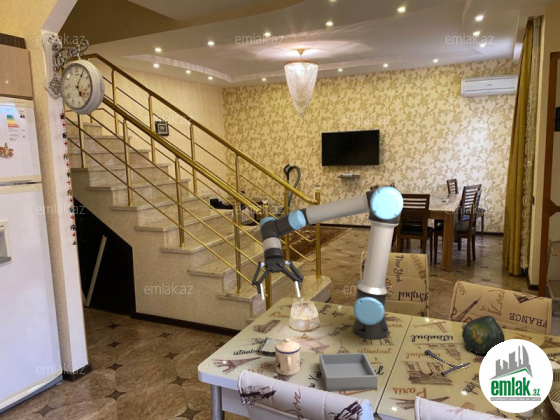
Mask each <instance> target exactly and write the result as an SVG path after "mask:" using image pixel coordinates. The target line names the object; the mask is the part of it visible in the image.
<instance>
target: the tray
mask: <svg viewBox="0 0 560 420" xmlns="http://www.w3.org/2000/svg"><path fill="white" fill-rule="evenodd" d="M318 357H319V359H318V360H319V365H318V366H319V369H320V373H321V376H322V381H323V382H324V386H325V391H326V392H344V391H345V392H346V391H347V392H348V391H351V392H352V391H364V390H363V389H377V390H378V375H377V373H376V371H375V369H374V367H373V366H372V364H371V362H370V360H369V358H368V357H367V355H366V353H365V352H351V353H350V352H348V353H345V352H344V353H320V354H319V356H318Z"/></svg>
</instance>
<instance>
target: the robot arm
mask: <svg viewBox="0 0 560 420" xmlns="http://www.w3.org/2000/svg"><path fill="white" fill-rule="evenodd" d="M403 207H404V199H403V196H402V194H401V192H400V191H399V189H397V188H396V187H395V186H392V185H388V184H387V185H382V186H380V187H377V188H374V189H371V190H367V191H365V192H364V193H363V194H361V195H357V196H353V197H352V196H351V197H347V198H343V199H339V200H334V201H330V202H326V203H321V204H317V205H312V206H309V207H306V208H305V207H304V208H297V209H294V210H292V211H291V212H289V213H287V214H284V215H283V216H280V217H279V218H275V217H273V216H268V217H267V216H266V217H263V218H262V219H261V220H260V221H259V233H260V237H261V238H260V240H261V244H262V250H263V259H264V262H262V261H261V260H258V261H257V266H256V267H257V268H256V269H255V272H254V276H252V277H253V278H252V280H251V284H250V285H251V286H252V287H253V286H254V287H256V291H257V294H258V295H260V301H261V304H264V303H265V294H264V286H263V282H264V280H265V279H266V278H267V276H268V275H269V274H270V273H271V274H276V273H277V274H279V273H281V274H283V275H285V276H286V277H288V278H289V279H290V280H291V281H293V286H294V291H295V292H294V293H295V296H296V301H299V300H300V298H301V294H300V293H301V292H300V291H301V289H302V286H301V283H303V282H304V279H305V278H304V276H303V274H302V273H301V272H300V271H299V269H298V268H297V267H296V266H295V265H294V263H293V260H292V259H288V260H286V261H285V259H284V255H283V254H284V253H283V250H282V249H283V248H282V244H281V243H282V242H281V237H284V236H285V235H288V234H290V233H293V232H296V231H299V230H300V229H302V228H304V227H305V226H309V225H313V224H318V223H323V222H328V221H329V222H330V221H333V220H337V219H344V218H347V217H352V216H356V215H362V214H366V213H367V214H368V218H367V220H368V221H369V223H370V224H371V225H370V231H369V236H368V242H367V249H366V255H365V262H364V269H363V274H362V275H363V276H362V279H361V280H358V282H357V285H356V293H355V294H356V295H355V300H354V304H353V307H352V308H353V314H354V316H355V319H354V321H353V324H352V333H353V334H355V335H356V336H357V337H359V338H362V339H366V340H381V339H384V338H386V337H388V336H387V335H389V326H388V323H387V320H386V315H385V311H386V310H385V309H386V301H387V295H388V290H387V288H386V284H385V283H386V278H387V277H386V276H387V271H388V264H389V259H390V253H391V248H392V242H393V241H392V240H393V235H394V229H395V227H397V226H398V225H399V224H400V221H401V220H400V219H401V214H402V210H403ZM263 267H265V268H266V269H265V271H264V272H263V274H261V276H260V277H259V275H260V272H261V269H263ZM287 267H289V269H288V268H287ZM258 277H259V278H258Z"/></svg>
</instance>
